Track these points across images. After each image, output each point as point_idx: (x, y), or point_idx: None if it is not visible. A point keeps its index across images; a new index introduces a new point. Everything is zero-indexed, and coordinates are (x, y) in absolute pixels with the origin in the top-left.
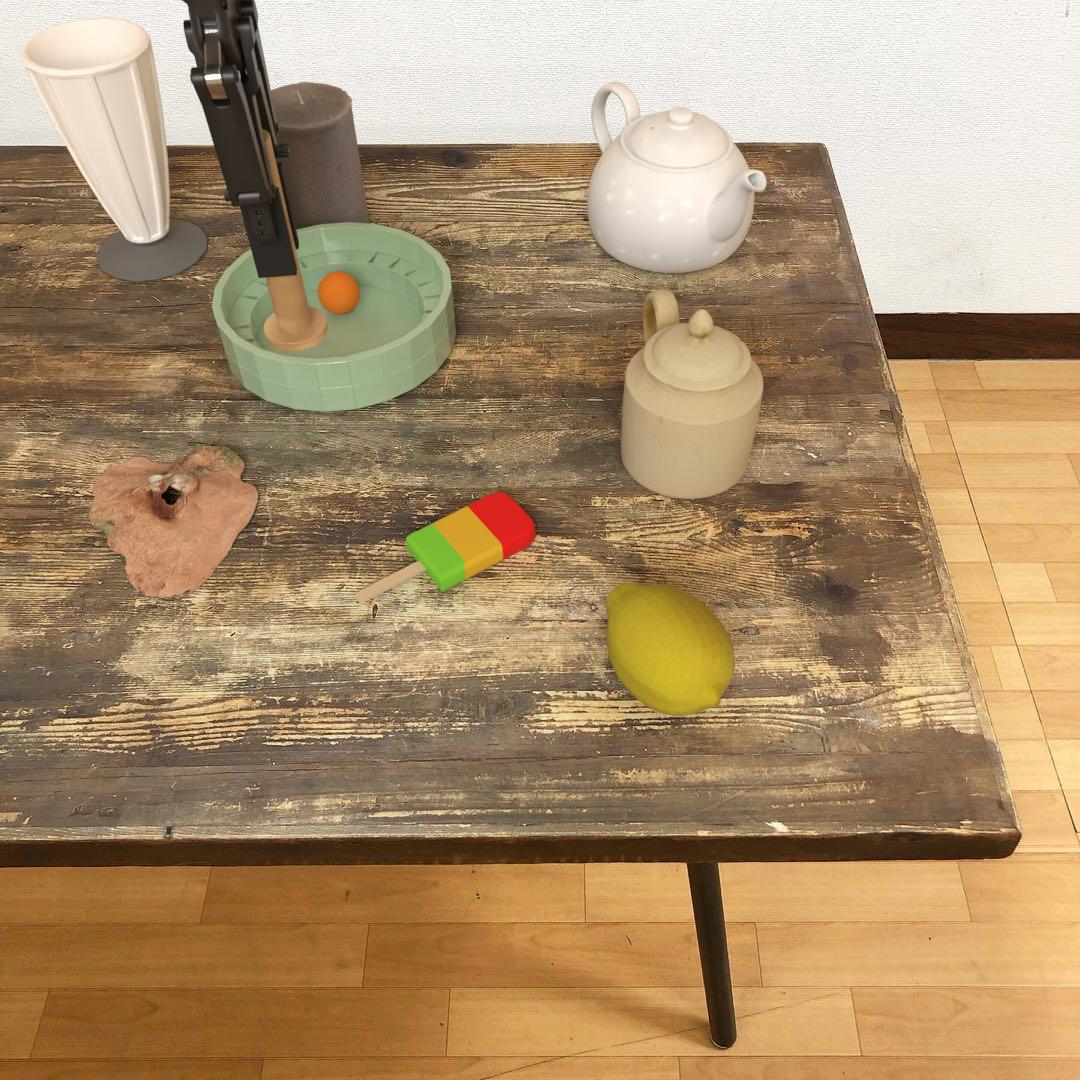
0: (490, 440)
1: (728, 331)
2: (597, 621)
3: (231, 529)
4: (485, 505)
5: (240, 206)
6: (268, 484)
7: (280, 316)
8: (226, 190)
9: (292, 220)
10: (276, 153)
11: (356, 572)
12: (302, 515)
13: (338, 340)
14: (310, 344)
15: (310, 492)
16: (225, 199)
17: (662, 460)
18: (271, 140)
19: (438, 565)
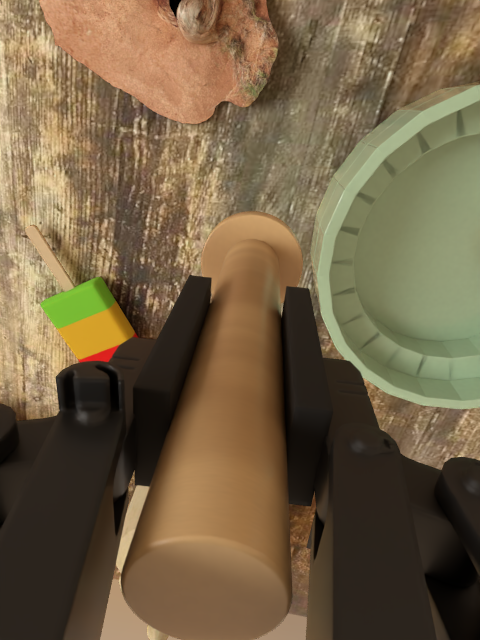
0: None
1: None
2: (23, 398)
3: (141, 88)
4: None
5: (144, 368)
6: (215, 136)
7: (226, 259)
8: (105, 382)
9: None
10: (312, 527)
11: (77, 225)
12: (160, 174)
13: (448, 241)
14: None
15: (194, 186)
16: (65, 370)
17: (135, 495)
18: (310, 572)
19: (55, 306)
